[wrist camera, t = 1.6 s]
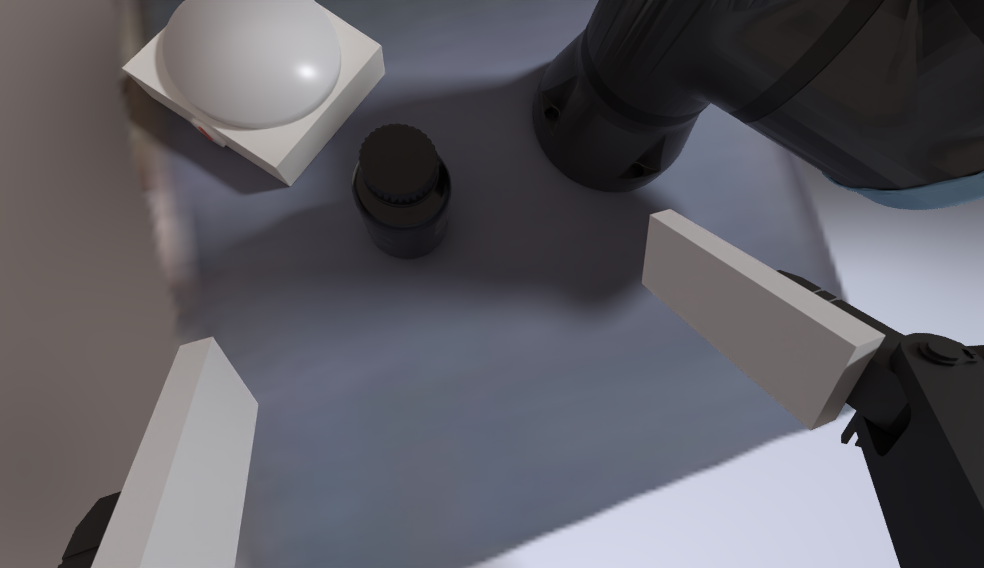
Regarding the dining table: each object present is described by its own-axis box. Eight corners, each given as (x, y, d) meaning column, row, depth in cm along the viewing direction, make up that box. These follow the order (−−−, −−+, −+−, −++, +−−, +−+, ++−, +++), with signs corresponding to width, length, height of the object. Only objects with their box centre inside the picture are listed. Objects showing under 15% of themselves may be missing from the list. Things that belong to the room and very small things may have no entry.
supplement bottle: (422, 174, 38) (420, 91, 27) (460, 237, 38) (475, 180, 26) (353, 208, 37) (319, 135, 25) (392, 274, 36) (375, 231, 25)
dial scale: (259, -10, 39) (237, -58, 35) (385, 73, 40) (379, 36, 35) (146, 101, 36) (106, 64, 32) (286, 191, 36) (266, 167, 32)
